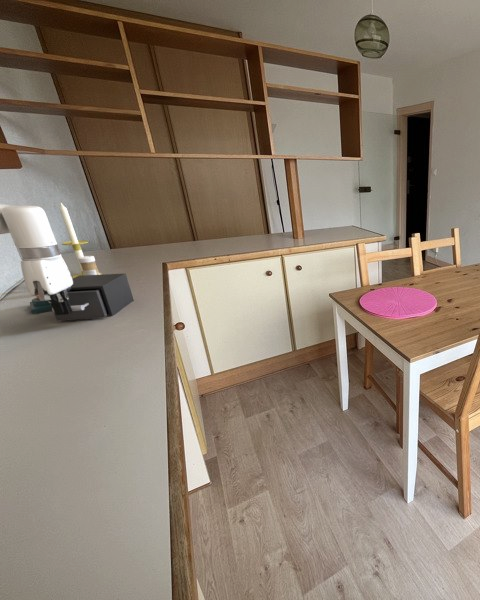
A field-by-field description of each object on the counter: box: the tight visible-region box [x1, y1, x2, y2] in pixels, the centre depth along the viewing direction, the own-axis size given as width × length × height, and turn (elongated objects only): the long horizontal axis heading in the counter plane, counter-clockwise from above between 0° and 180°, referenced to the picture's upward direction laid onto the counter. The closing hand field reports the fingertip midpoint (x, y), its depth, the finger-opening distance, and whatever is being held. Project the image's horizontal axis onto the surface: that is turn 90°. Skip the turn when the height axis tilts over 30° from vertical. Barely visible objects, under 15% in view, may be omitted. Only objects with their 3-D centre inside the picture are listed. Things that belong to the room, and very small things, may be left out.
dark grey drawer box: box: [70, 273, 135, 318], centre depth 106 cm, size 15×14×11 cm
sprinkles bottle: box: [77, 255, 100, 275], centre depth 124 cm, size 5×5×13 cm
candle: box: [59, 202, 102, 279], centre depth 137 cm, size 10×10×32 cm
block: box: [29, 297, 53, 315], centre depth 108 cm, size 10×8×4 cm
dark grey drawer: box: [50, 288, 108, 322], centre depth 101 cm, size 18×12×9 cm
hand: (64, 313), depth 92 cm, fingers closed
